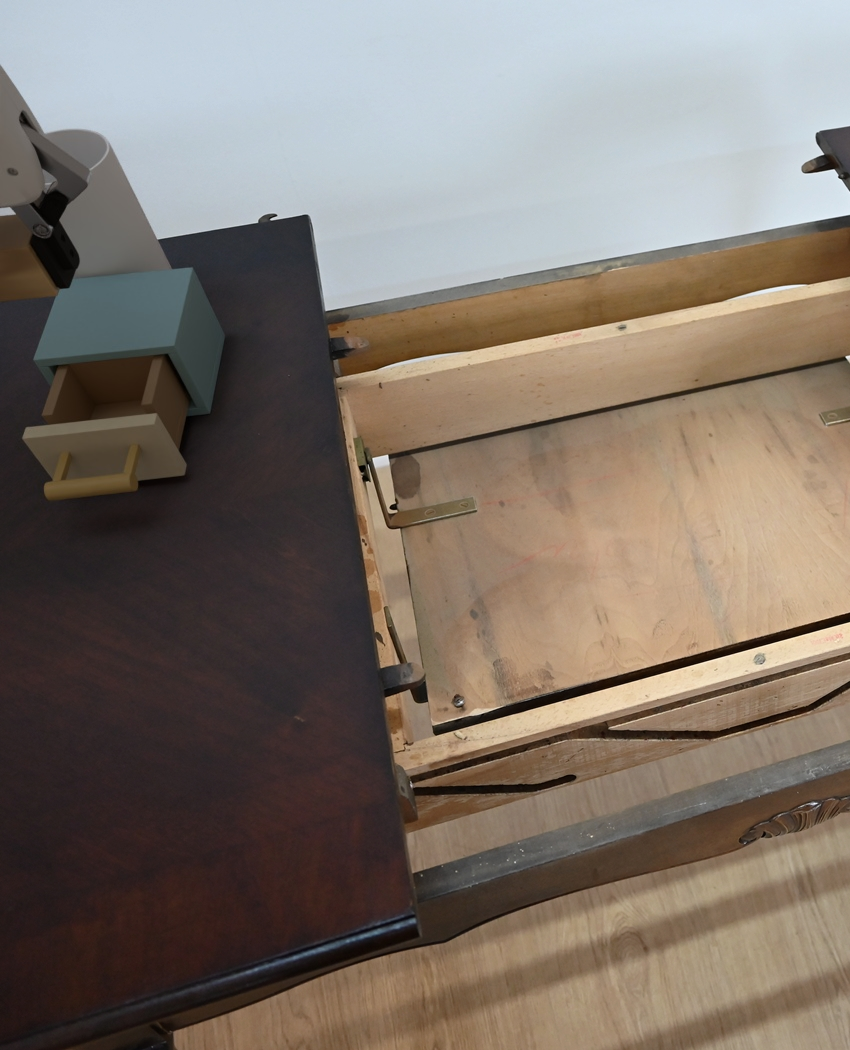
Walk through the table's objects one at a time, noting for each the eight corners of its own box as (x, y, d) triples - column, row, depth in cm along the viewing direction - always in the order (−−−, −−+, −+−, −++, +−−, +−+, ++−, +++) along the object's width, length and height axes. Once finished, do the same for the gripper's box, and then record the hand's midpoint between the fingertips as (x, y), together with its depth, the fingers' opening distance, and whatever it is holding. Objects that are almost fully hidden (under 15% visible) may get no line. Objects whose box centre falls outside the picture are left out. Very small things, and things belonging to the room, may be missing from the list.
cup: (74, 334, 93) (-23, 177, 81) (127, 279, 98) (42, 122, 86) (155, 349, 92) (69, 191, 79) (204, 291, 97) (130, 135, 84)
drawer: (176, 517, 79) (144, 466, 74) (47, 532, 78) (6, 482, 73) (200, 397, 87) (173, 344, 82) (84, 409, 86) (49, 357, 81)
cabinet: (210, 414, 87) (174, 345, 81) (78, 428, 86) (32, 360, 80) (225, 335, 93) (192, 266, 87) (102, 348, 92) (61, 279, 86)
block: (-5, 303, 70) (-38, 253, 66) (11, 266, 72) (-21, 217, 69) (57, 296, 70) (27, 247, 67) (70, 260, 72) (41, 211, 69)
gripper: (-335, 56, 54) (-114, 329, 68) (3, 29, 55) (150, 301, 69) (-273, -9, 58) (-79, 259, 72) (37, -33, 60) (168, 235, 74)
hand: (32, 277), depth 71 cm, fingers closed on block, 4 cm apart
